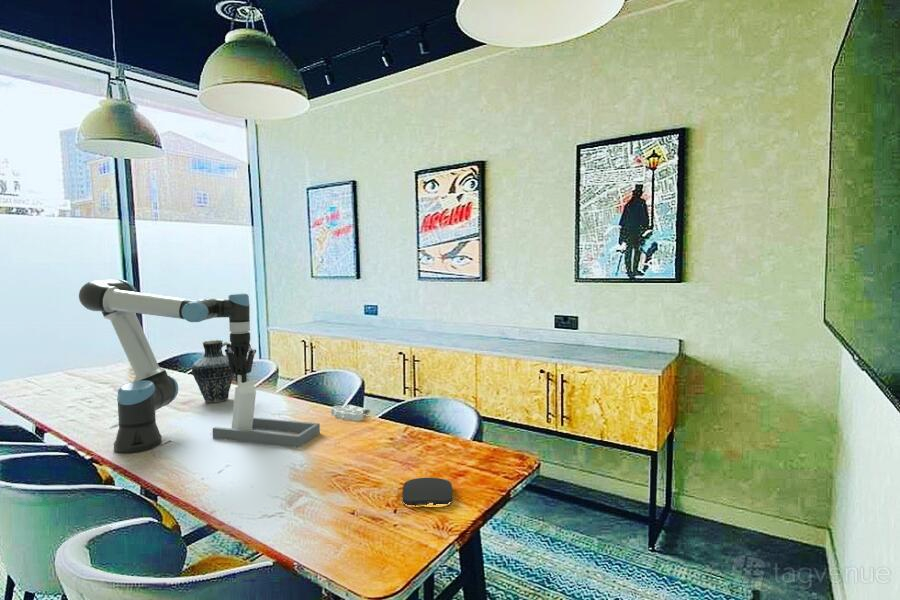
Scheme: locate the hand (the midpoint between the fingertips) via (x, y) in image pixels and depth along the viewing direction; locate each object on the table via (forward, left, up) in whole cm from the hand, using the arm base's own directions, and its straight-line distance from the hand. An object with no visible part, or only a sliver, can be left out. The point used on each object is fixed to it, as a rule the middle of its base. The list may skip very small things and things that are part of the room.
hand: (241, 390), depth 197 cm
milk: (0, 0, -17) cm, 17 cm away
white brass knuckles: (+33, -31, -18) cm, 49 cm away
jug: (+38, +43, -18) cm, 60 cm away
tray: (0, -11, -18) cm, 21 cm away
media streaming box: (-33, -88, -18) cm, 95 cm away
